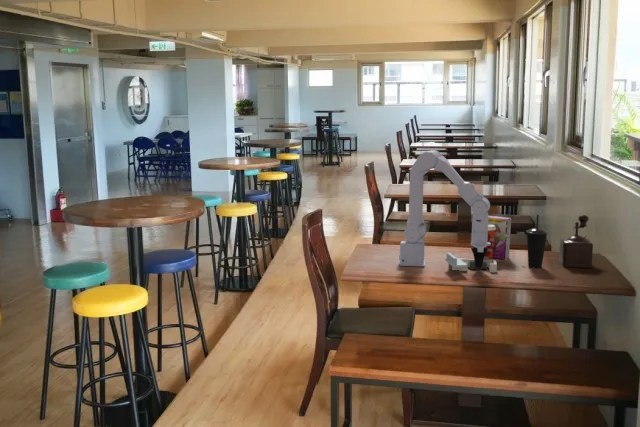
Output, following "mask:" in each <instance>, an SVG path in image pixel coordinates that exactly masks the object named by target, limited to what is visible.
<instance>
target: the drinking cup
mask: <svg viewBox="0 0 640 427" xmlns="http://www.w3.org/2000/svg"><path fill="white" fill-rule="evenodd" d="M539 217H540V216H539V214H536V222H535V223H536V226H535V227H533V228H530V229H528V230H527V229H526V232H525V233H526V240H527V242H526V244H527V261H528V262H527V263H528V264H527V265H528V268H530V269H542V268H543V262H544V261H543V260H544V255H545V248H546V241H547V235H548V231H547V230H545V229H542V228H539Z"/></svg>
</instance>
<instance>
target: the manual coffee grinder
mask: <svg viewBox="0 0 640 427" xmlns="http://www.w3.org/2000/svg"><path fill="white" fill-rule="evenodd" d="M577 220H578V221H576V222H575V224H574V226H572V227H573V228H572V229H574V230H575V233H574V235H571V236H569V237H567V238H566V237H560V239H559V259H558V260H559V263H560V265H561V266H562V267H563V268H573V269H574V268H575V269H576V268H577V269H579V268H580V269H593V264H592V263H593V251H594V244H593V243H592V242H591V241H590V239H589V238H587V235H585V236H582V235H580V234H579V229H584V228H587V227H588V225H587V223H588V222H589V221H590V218H589V216H588V215H586V214H580V215H578V217H577Z"/></svg>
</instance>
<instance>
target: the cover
mask: <svg viewBox="0 0 640 427" xmlns="http://www.w3.org/2000/svg"><path fill="white" fill-rule="evenodd" d="M451 253H452V252H446V257H445V258H444V262H447V263H448V264H450V265H451V266H452V267H467V264H466V263H464V262H463V261H462V260H460V259H461V258H459V257H456V256H455V255H454V254H453V253H452V254H453V255H452V254H451ZM467 268H468V267H467Z"/></svg>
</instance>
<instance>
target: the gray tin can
mask: <svg viewBox="0 0 640 427" xmlns="http://www.w3.org/2000/svg"><path fill="white" fill-rule="evenodd" d="M469 269H470V270H482V269H486V270H487V269H488V268H487V262H483V264H482V267H481V268H477V267H475V261H470V267H469Z"/></svg>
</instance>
